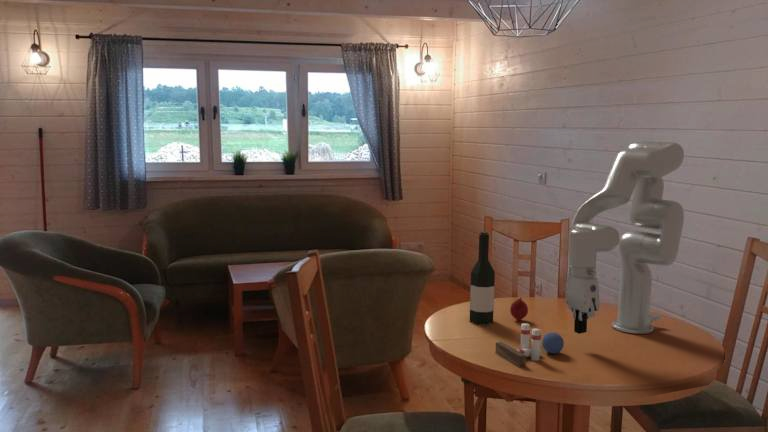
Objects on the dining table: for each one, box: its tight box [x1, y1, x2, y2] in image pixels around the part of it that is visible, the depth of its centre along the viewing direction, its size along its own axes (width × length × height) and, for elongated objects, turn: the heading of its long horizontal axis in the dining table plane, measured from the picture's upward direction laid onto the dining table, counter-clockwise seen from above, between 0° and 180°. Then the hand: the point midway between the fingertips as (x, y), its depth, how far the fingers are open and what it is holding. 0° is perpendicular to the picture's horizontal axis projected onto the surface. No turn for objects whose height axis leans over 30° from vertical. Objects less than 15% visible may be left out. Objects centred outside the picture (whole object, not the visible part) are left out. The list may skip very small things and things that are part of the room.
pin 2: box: [530, 328, 542, 362], centre depth 180 cm, size 2×2×8 cm
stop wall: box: [495, 341, 527, 368], centre depth 180 cm, size 2×12×3 cm, turn 22°
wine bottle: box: [469, 230, 496, 326], centre depth 214 cm, size 8×8×30 cm
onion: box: [509, 296, 529, 321], centre depth 216 cm, size 6×6×8 cm
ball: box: [541, 332, 565, 355], centre depth 185 cm, size 6×6×6 cm
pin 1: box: [520, 322, 531, 349], centre depth 185 cm, size 2×2×8 cm
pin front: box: [516, 347, 543, 358], centre depth 182 cm, size 2×2×8 cm
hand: (580, 332), depth 189 cm, fingers closed
